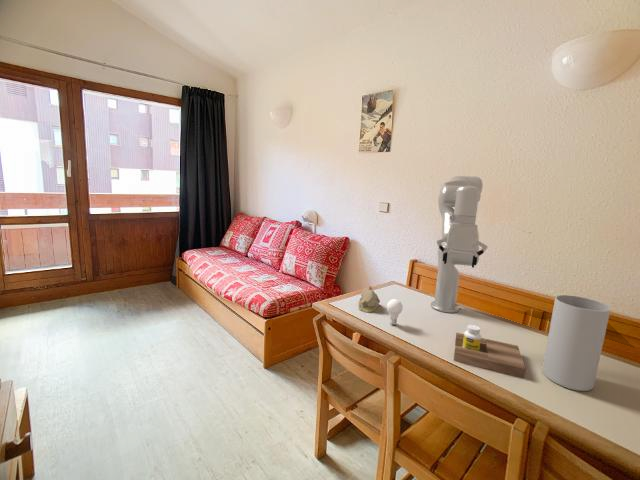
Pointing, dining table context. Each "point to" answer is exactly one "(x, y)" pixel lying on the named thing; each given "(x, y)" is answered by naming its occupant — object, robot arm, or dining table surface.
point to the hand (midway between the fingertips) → (458, 264)
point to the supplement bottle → (472, 338)
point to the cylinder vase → (575, 341)
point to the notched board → (491, 356)
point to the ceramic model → (369, 301)
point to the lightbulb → (394, 310)
